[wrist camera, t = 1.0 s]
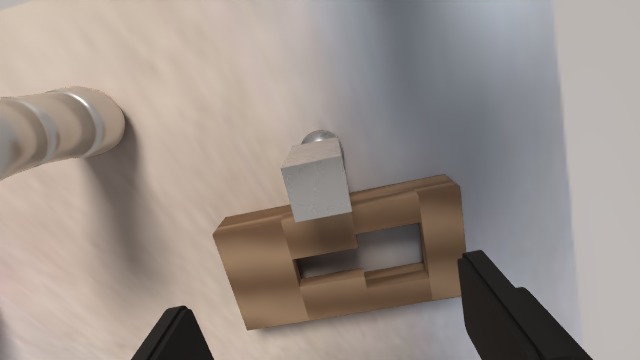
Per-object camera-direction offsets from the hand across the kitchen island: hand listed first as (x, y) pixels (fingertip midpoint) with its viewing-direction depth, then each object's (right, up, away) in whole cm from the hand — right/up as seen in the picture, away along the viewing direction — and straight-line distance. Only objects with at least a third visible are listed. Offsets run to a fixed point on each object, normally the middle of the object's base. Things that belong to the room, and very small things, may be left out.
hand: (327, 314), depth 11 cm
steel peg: (0, +7, +21) cm, 22 cm away
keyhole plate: (+2, -3, +24) cm, 25 cm away
